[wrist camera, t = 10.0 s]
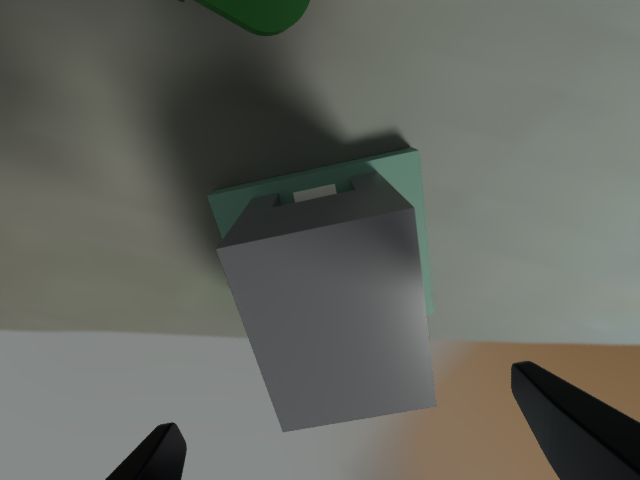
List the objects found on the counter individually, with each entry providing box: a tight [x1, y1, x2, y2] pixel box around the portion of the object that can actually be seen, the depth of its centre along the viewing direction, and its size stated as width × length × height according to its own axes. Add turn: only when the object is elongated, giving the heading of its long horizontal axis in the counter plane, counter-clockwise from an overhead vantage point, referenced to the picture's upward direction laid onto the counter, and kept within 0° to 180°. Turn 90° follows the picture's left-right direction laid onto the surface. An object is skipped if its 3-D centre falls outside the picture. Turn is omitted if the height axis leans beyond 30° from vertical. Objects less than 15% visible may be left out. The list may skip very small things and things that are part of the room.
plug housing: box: [216, 171, 436, 432], centre depth 14 cm, size 6×8×6 cm
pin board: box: [207, 147, 434, 316], centre depth 16 cm, size 10×9×3 cm
